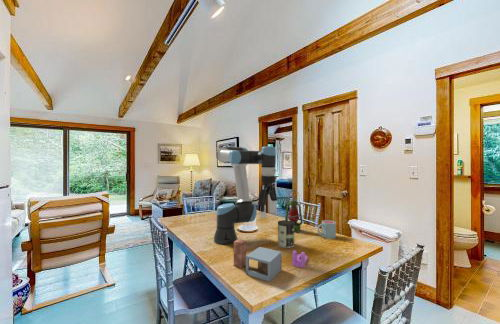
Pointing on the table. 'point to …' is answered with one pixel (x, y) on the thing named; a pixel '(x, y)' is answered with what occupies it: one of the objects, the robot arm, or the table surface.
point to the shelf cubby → (265, 256)
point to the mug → (328, 229)
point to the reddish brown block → (241, 257)
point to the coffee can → (286, 233)
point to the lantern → (294, 213)
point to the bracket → (297, 261)
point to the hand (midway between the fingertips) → (268, 215)
